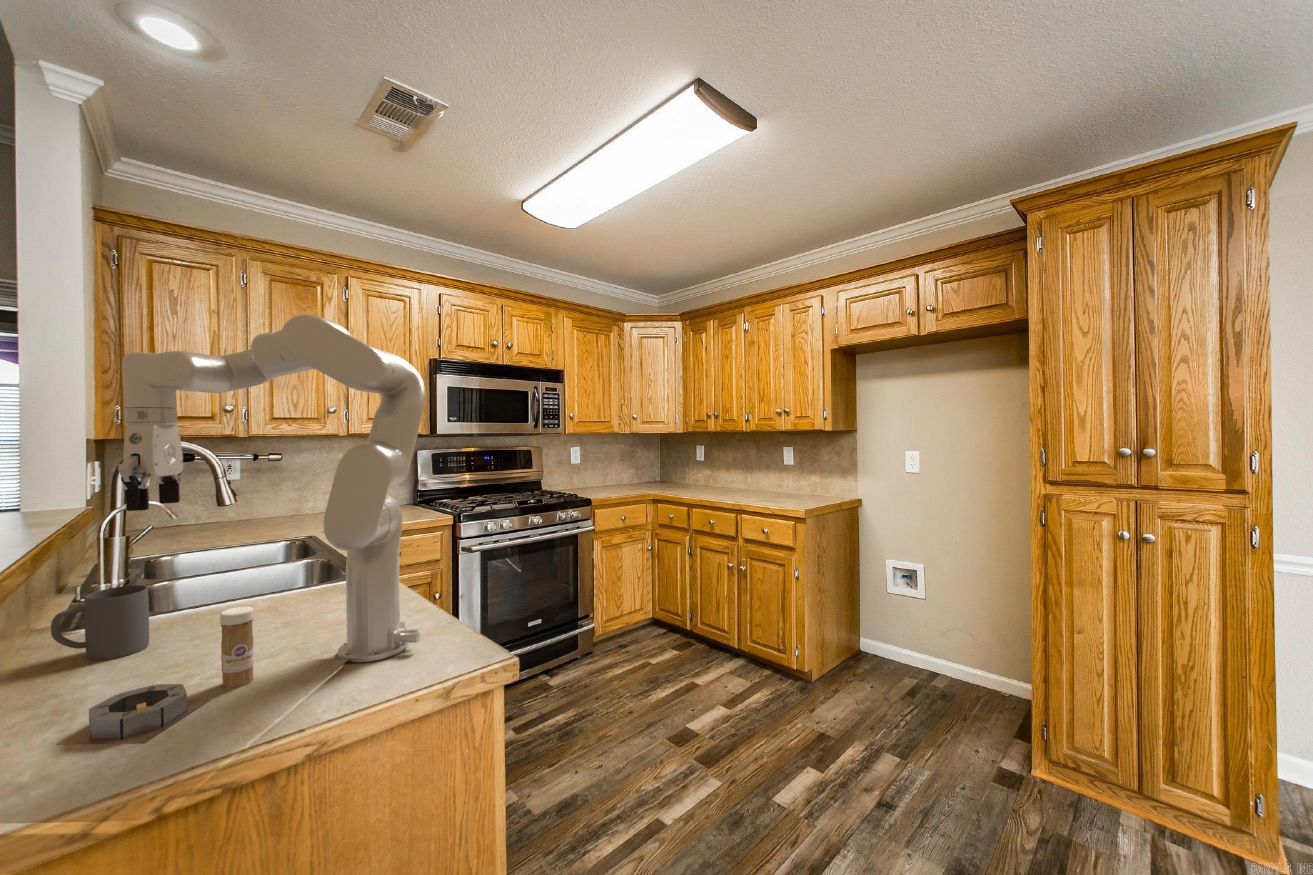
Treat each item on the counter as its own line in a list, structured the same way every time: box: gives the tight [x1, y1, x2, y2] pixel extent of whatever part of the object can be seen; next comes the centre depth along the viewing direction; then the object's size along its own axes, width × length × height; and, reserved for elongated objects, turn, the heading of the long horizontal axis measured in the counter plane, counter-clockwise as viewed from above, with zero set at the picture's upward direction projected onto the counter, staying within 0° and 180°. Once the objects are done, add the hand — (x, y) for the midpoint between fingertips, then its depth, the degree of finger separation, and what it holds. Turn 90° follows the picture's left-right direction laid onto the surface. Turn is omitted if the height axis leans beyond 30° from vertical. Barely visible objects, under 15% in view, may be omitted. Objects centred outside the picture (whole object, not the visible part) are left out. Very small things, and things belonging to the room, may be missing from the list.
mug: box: [50, 584, 150, 661], centre depth 108 cm, size 14×9×12 cm
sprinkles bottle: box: [219, 606, 255, 690], centre depth 95 cm, size 5×5×13 cm
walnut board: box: [56, 699, 212, 746], centre depth 83 cm, size 12×12×1 cm
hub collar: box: [88, 683, 188, 741], centre depth 83 cm, size 10×10×4 cm
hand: (154, 506), depth 106 cm, fingers open, 9 cm apart
